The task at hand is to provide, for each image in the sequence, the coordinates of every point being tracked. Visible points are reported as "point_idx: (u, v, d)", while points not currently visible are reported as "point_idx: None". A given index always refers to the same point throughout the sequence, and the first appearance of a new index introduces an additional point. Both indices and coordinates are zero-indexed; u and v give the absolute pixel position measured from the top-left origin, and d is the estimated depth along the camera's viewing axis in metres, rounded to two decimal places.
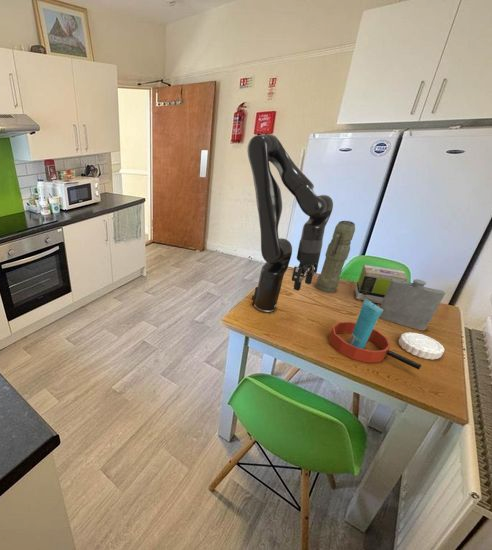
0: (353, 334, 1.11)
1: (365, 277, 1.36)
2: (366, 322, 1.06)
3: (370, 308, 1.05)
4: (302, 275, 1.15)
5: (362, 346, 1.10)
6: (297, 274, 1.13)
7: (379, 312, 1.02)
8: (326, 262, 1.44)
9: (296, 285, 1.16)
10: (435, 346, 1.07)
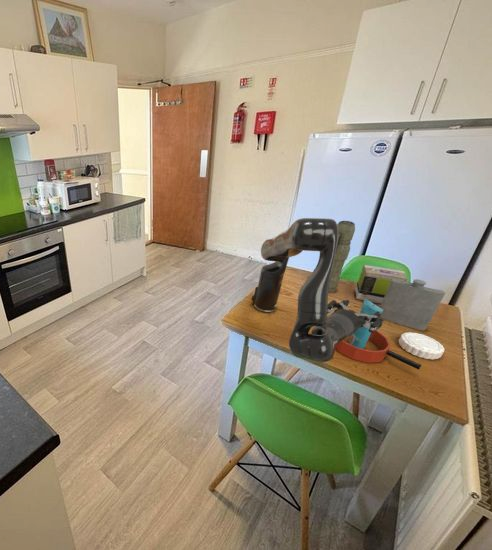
0: (353, 334, 1.11)
1: (365, 277, 1.36)
2: None
3: (370, 308, 1.05)
4: None
5: (362, 346, 1.10)
6: None
7: None
8: None
9: None
10: (435, 346, 1.07)
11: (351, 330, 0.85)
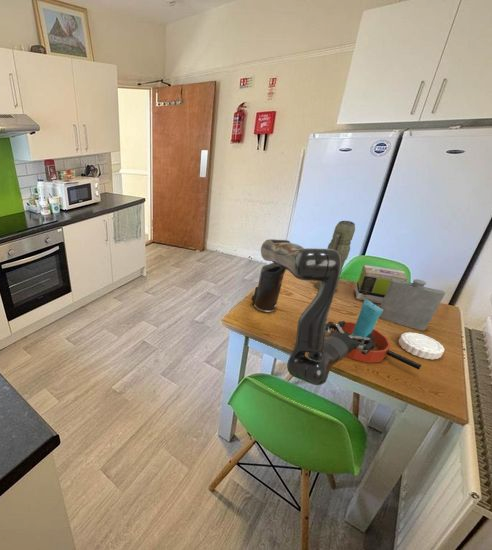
0: (353, 334, 1.11)
1: (365, 277, 1.36)
2: (366, 322, 1.06)
3: (370, 308, 1.05)
4: None
5: None
6: None
7: (379, 312, 1.02)
8: None
9: None
10: (435, 346, 1.07)
11: (345, 353, 0.92)
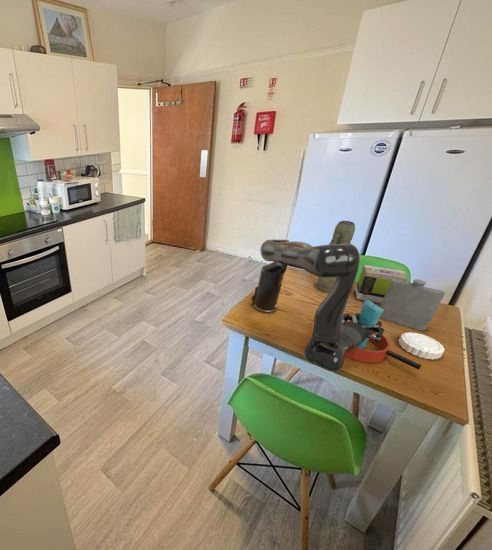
0: None
1: (365, 277, 1.36)
2: (367, 322, 1.06)
3: (371, 308, 1.04)
4: None
5: (362, 346, 1.10)
6: None
7: (380, 312, 1.02)
8: None
9: None
10: (435, 346, 1.07)
11: (359, 341, 0.97)
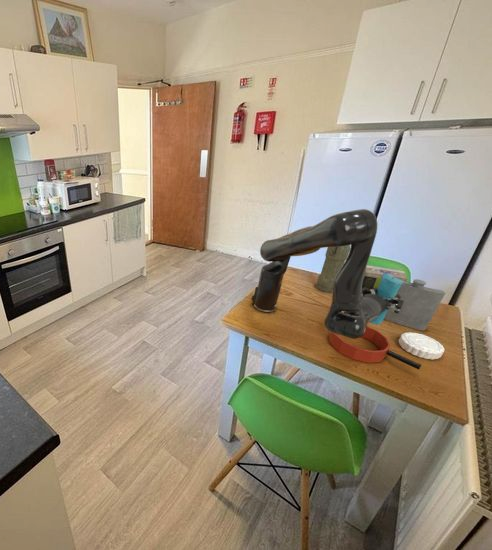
0: None
1: (365, 277, 1.36)
2: (385, 295, 1.06)
3: (390, 281, 1.05)
4: None
5: (380, 320, 1.10)
6: None
7: (399, 284, 1.02)
8: (326, 262, 1.44)
9: None
10: (435, 346, 1.07)
11: (379, 311, 0.97)
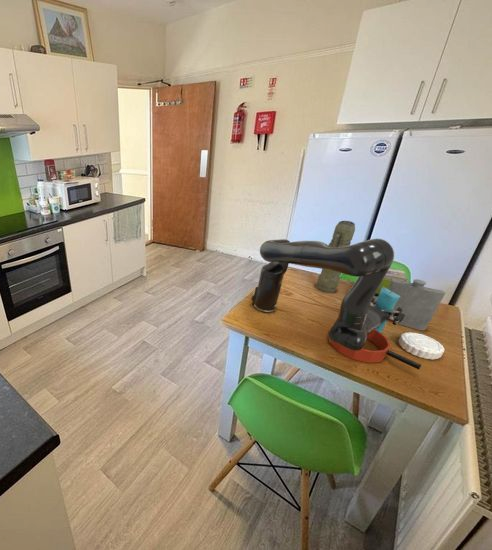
0: None
1: None
2: None
3: (388, 295, 1.12)
4: None
5: (379, 331, 1.17)
6: None
7: (396, 298, 1.09)
8: None
9: None
10: (435, 346, 1.07)
11: (378, 323, 1.04)
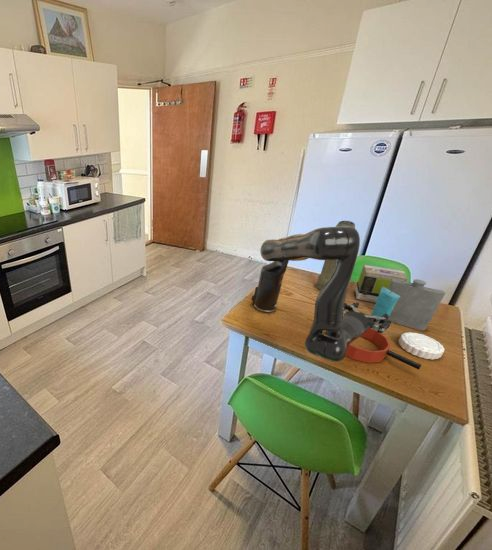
0: None
1: (365, 277, 1.36)
2: (384, 309, 1.13)
3: (388, 295, 1.12)
4: None
5: None
6: None
7: (396, 298, 1.09)
8: (326, 262, 1.44)
9: None
10: (435, 346, 1.07)
11: (361, 331, 0.94)
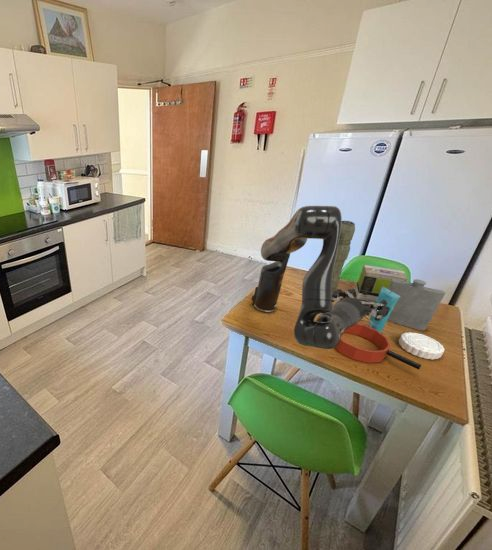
0: (371, 320, 1.18)
1: (365, 277, 1.36)
2: None
3: (388, 295, 1.12)
4: None
5: (379, 331, 1.17)
6: None
7: (396, 298, 1.09)
8: None
9: None
10: (435, 346, 1.07)
11: (357, 318, 0.84)
